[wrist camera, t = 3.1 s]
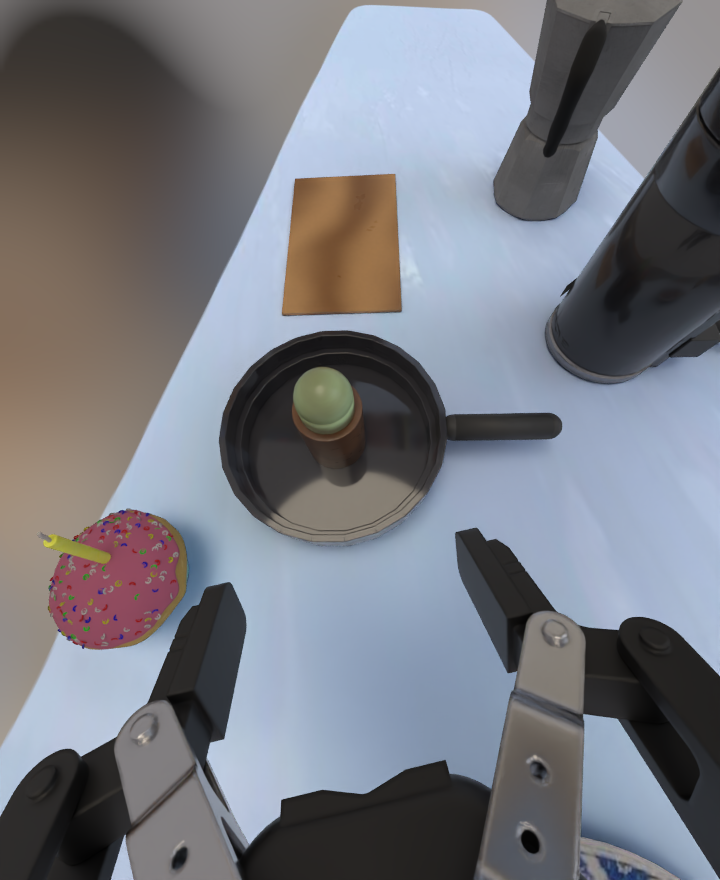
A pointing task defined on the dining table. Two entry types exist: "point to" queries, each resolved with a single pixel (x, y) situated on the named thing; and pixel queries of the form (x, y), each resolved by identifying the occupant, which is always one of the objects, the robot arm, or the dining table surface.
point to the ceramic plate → (617, 863)
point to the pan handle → (503, 426)
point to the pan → (291, 463)
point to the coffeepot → (574, 97)
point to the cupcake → (117, 579)
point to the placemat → (343, 247)
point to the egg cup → (329, 417)
